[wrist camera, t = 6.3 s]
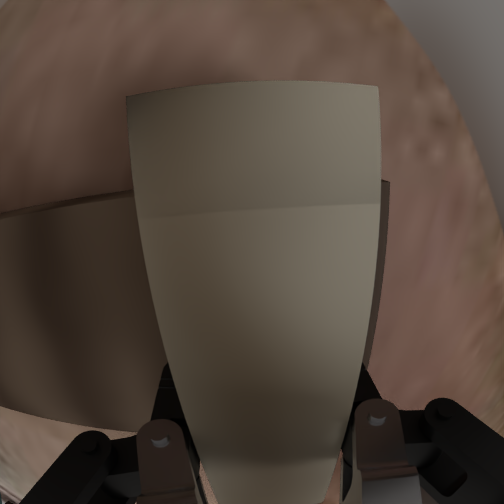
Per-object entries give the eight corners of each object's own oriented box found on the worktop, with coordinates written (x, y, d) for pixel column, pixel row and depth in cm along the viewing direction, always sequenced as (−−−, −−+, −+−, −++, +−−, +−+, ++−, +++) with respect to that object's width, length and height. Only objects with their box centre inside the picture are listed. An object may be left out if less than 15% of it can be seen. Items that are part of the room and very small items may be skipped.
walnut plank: (367, 175, 12) (389, 181, 10) (345, 392, 16) (355, 417, 14) (-73, 233, 11) (-92, 243, 9) (-14, 381, 15) (-26, 397, 13)
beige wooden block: (298, 116, 10) (378, 86, 4) (297, 406, 15) (320, 507, 9) (186, 122, 10) (125, 96, 4) (223, 412, 15) (224, 517, 9)
